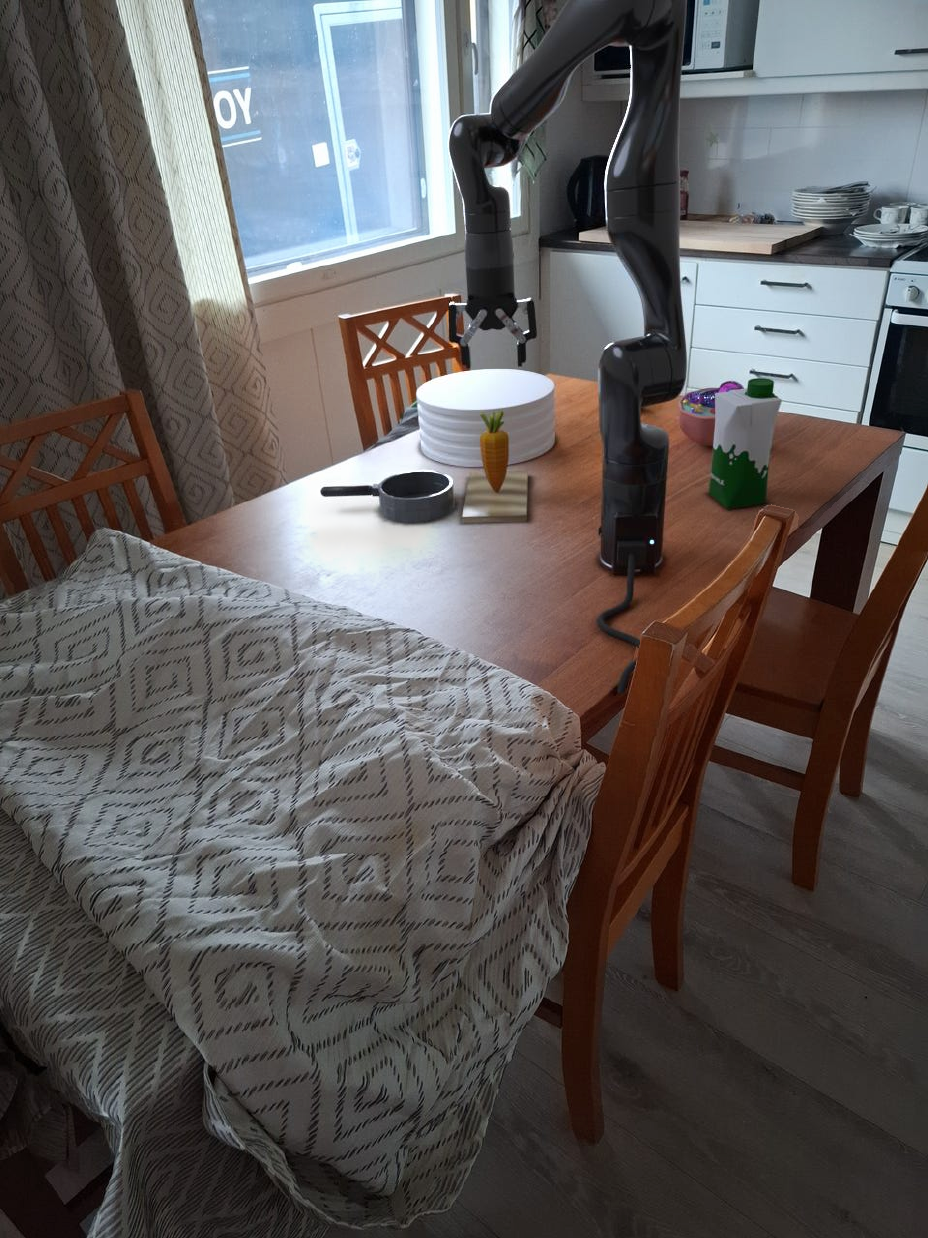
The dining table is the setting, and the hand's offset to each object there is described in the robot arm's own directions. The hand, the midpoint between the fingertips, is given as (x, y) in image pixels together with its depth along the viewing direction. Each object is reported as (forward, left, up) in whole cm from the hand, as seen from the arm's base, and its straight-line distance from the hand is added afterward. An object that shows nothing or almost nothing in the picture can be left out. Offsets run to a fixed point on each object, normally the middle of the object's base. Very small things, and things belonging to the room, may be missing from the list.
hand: (494, 366), depth 142 cm
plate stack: (+30, +4, -24) cm, 38 cm away
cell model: (+25, -43, -24) cm, 55 cm away
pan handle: (-3, +26, -21) cm, 34 cm away
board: (0, +1, -24) cm, 24 cm away
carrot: (0, +1, -23) cm, 23 cm away
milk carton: (-3, -41, -24) cm, 47 cm away
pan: (-3, +15, -24) cm, 28 cm away
